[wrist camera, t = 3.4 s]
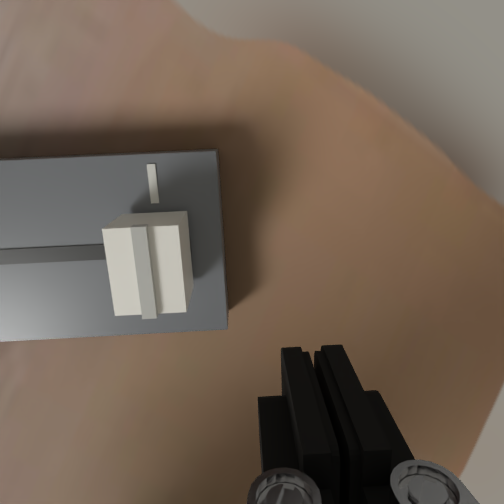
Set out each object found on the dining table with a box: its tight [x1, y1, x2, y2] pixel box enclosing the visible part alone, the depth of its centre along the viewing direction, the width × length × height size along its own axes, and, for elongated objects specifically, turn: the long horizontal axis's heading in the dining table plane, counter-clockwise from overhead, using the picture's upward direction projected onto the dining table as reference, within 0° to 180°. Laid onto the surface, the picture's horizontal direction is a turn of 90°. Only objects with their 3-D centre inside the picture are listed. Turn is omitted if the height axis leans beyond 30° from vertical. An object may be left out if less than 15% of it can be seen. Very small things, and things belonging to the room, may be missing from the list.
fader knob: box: [102, 211, 194, 319], centre depth 24 cm, size 5×4×4 cm
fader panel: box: [0, 149, 229, 342], centre depth 28 cm, size 12×28×3 cm, turn 92°
